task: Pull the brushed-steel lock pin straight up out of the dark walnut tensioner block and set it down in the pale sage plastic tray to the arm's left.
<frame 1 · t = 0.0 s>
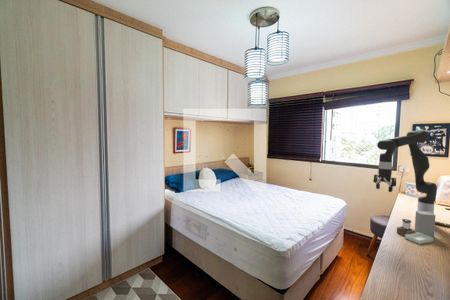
hand: (383, 190, 147), 29 cm above the table, fingers open, 8 cm apart
tray: (418, 239, 134), on the table
lock pin: (406, 227, 142), in the tensioner block
tensioner block: (405, 234, 142), on the table
skincare box: (423, 234, 142), on the table
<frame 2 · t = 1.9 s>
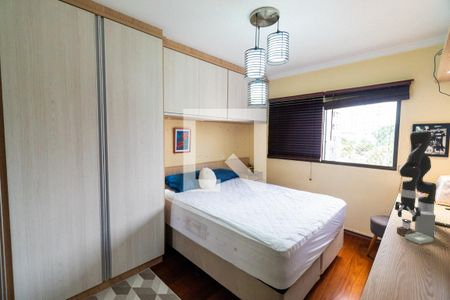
hand: (406, 219, 141), 11 cm above the table, fingers open, 8 cm apart
nothing on the table moved.
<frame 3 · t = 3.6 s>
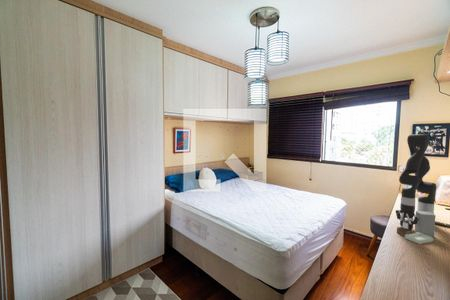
hand: (406, 227, 142), 5 cm above the table, fingers closed on lock pin, 4 cm apart
lock pin: (406, 227, 142), in the tensioner block, touching gripper
everything else where it was.
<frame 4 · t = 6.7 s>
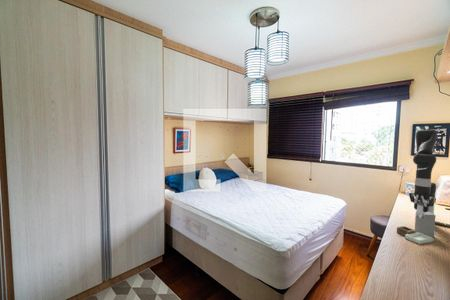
hand: (420, 210, 133), 20 cm above the table, fingers closed on lock pin, 4 cm apart
lock pin: (420, 210, 133), point 20 cm above the table, touching gripper
everything else where it was.
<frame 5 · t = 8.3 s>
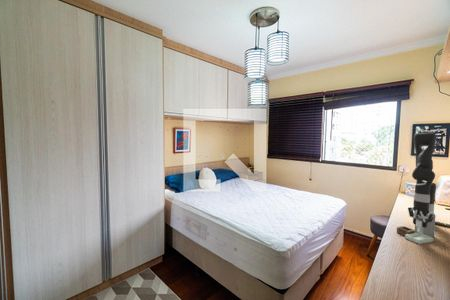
hand: (419, 225, 134), 10 cm above the table, fingers closed on lock pin, 4 cm apart
lock pin: (419, 225, 134), point 10 cm above the table, touching gripper
everything else where it was.
when the fingers open (6 cm above the table, at t = 9.8 s): lock pin stays where it is, resting on tray.
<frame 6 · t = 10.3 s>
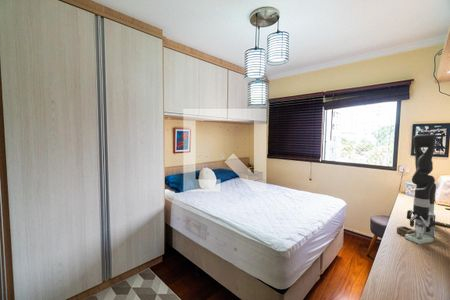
hand: (419, 229, 134), 7 cm above the table, fingers open, 8 cm apart
lock pin: (419, 231, 134), in the tray, point 6 cm above the table
everything else where it was.
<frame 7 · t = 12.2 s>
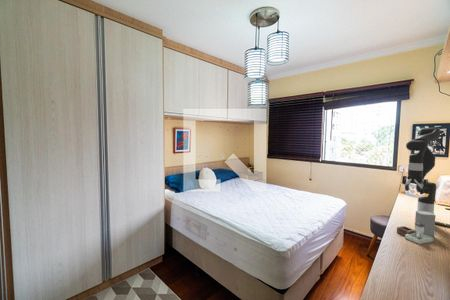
hand: (414, 192, 142), 29 cm above the table, fingers open, 8 cm apart
nothing on the table moved.
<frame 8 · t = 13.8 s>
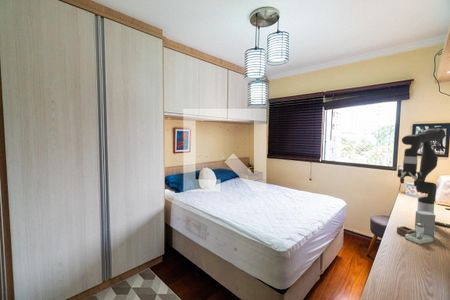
hand: (408, 184, 149), 33 cm above the table, fingers open, 8 cm apart
nothing on the table moved.
at the end: lock pin inside the target area on the tray (0.0 cm from its centre), point 5.6 cm above the tray's base; the gripper is holding nothing; lock pin touching tray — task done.
